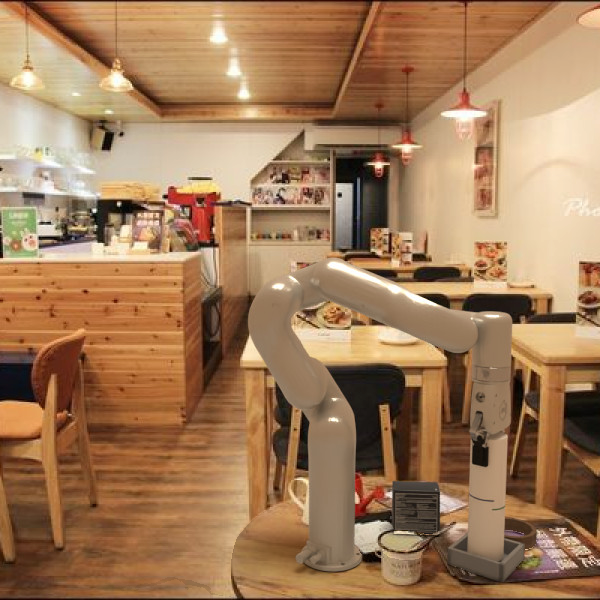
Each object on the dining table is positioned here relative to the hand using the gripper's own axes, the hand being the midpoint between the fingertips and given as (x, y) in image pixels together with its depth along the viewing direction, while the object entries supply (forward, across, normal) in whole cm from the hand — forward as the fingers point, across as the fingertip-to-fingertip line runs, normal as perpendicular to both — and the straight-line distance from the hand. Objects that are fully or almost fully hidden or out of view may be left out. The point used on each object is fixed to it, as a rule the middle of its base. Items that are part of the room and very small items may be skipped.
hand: (488, 459), depth 137 cm
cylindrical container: (+20, 0, 0) cm, 20 cm away
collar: (+22, +13, 0) cm, 25 cm away
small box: (+22, +5, +19) cm, 29 cm away
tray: (+22, 0, 0) cm, 22 cm away
